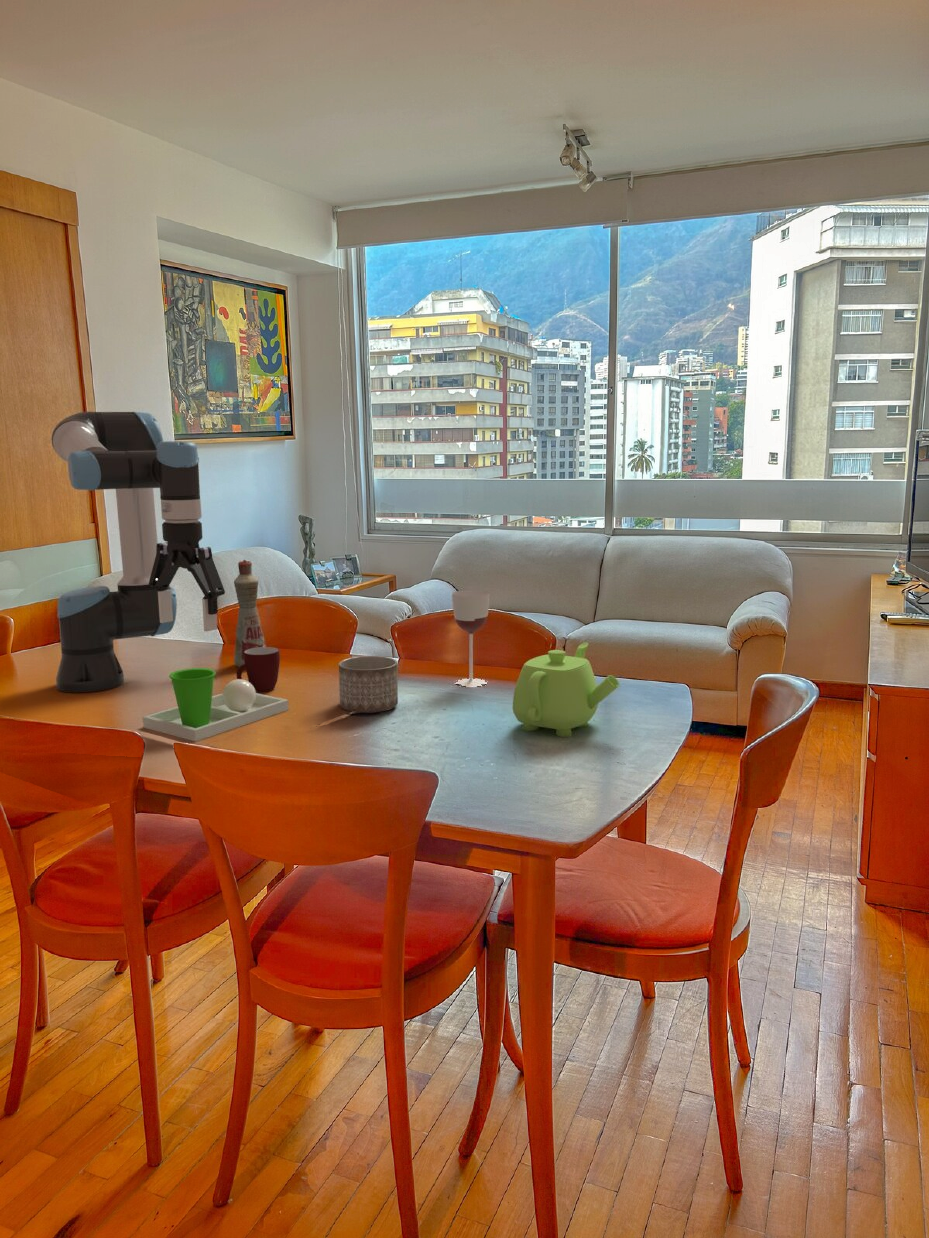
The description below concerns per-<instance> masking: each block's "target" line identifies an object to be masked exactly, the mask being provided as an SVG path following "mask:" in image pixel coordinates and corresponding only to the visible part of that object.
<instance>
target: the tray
mask: <svg viewBox="0 0 929 1238" xmlns="http://www.w3.org/2000/svg"><path fill="white" fill-rule="evenodd" d="M222 694H223V692H222V693H218V694H216V695H212V701H211V711H210V720H209V724H207V725H204V726H201V727H198V728H193V727H189V726H185V725H182V721H181V717H180V713H179V709H178V706H175V707H172V708H168V709H164V710H161V711H157V712H155V713H151V714H148V715H144V716H142V724H143V725H142V727H143V728H144V729H148V730H151V731H156V732H159V733H163V734H166V735H170V736H174V737H177V738H181V739H185V740H188V741H193V742H196V743H197V742H199V741H202V740H205V739H208V738H210V737H213V736H216V735H219V734H222V733H225V732H229V731H231V730H235V729H238V728H240V727H243V726H246V725H248V724H251V723H254V722H257V721H260V720H261V721H262V720H264V719H266V718H269V717H273V716H276V715H278V714H281V713H284V712H287V711H289V710H290V709H289V708H290V707H289V699H285V698H281V697H276V696H271V695H267V694H263V693H259V692H256V699H255V702H254V704H253V705H252V706H251V707H250V708H249V709H248V710H246V711H243V712H236V711H232V710H230V709H229V708H228V707H226V705H225V704H224V702H223V698H222Z"/></svg>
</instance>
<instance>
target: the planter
mask: <svg viewBox="0 0 929 1238" xmlns="http://www.w3.org/2000/svg"><path fill="white" fill-rule="evenodd" d="M338 682H339V684H338V685H339V686H338V687H339V690H338V691H339V706H340V708H342V709H343V710H345V711H349V712H352V713H353V712H354V713H362V714H373V713H374V714H375V713H379V712H385V711H389V710H392V709H393V708H395V707H397V705H398V703H399V697H398V696H399V693H398V684H399V683H398V661H397V660H396V659H394V658H392V657H388V656H381V655H361V656H354V657H353V656H352V657H349V658H345V659H342V660H341V661H339V662H338Z"/></svg>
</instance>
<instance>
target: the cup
mask: <svg viewBox="0 0 929 1238" xmlns="http://www.w3.org/2000/svg"><path fill="white" fill-rule="evenodd" d="M215 675H217V672H216V670H214V669H211V668H205V667H204V668H203V667H195V668H194V667H193V668H184V669H178V670H176V671H173V672H171V673H170V674H169V677H168V678H169V679H171V683H172V687H173V692H174V696H175V699H176V704H177V707H178V709H179V713H180V717H181V721H182V725H185V726H189V727H193V728H198V727H201V726H204V725H207V724H209V720H210V711H211V701H212V696H213V691H214V690H213V689H214V682H215V681H214V679H215Z"/></svg>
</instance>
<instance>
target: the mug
mask: <svg viewBox="0 0 929 1238" xmlns="http://www.w3.org/2000/svg"><path fill="white" fill-rule="evenodd" d="M280 655H281V653H280V649H279V648H277V647H272V646H271V647H270V646H266V647H258V648H251V649H247V650H245V651H244V663H245V664H243V665H241V666H240V667H239V668H237V670H236V671H237V672H236V679H243V677H242V675H243V672H244V670H245V671H246V675H247V679H248V680H247V681H248V682H250V683H251V684H252V685H253V687H254V688H255V691H256V693H266V692H271V691H273V690H275V688H276V685H277V682H278V679H279V678H278V677H279V669H280V664H281V658H280V657H281V656H280Z"/></svg>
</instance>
